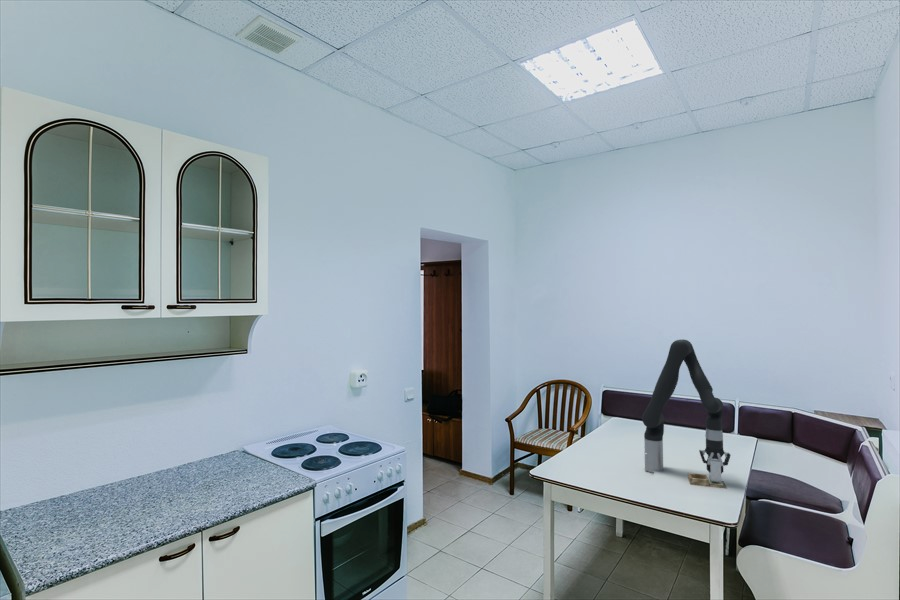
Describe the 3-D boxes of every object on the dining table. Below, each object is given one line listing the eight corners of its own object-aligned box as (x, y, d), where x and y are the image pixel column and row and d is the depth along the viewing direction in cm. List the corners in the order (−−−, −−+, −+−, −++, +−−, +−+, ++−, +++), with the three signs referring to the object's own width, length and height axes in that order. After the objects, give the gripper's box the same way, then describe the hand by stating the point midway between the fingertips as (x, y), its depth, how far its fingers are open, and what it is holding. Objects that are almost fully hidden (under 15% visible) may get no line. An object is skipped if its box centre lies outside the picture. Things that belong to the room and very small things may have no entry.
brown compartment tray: (690, 486, 222) (690, 478, 222) (687, 478, 232) (687, 470, 232) (727, 490, 216) (727, 482, 216) (723, 482, 226) (722, 474, 226)
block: (710, 481, 222) (710, 460, 223) (709, 477, 227) (708, 458, 227) (721, 482, 221) (720, 461, 221) (719, 479, 225) (719, 459, 225)
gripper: (699, 438, 224) (700, 473, 223) (732, 441, 218) (733, 476, 218) (697, 434, 230) (697, 468, 230) (729, 437, 225) (730, 471, 225)
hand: (715, 472), depth 224 cm, fingers closed on block, 4 cm apart
